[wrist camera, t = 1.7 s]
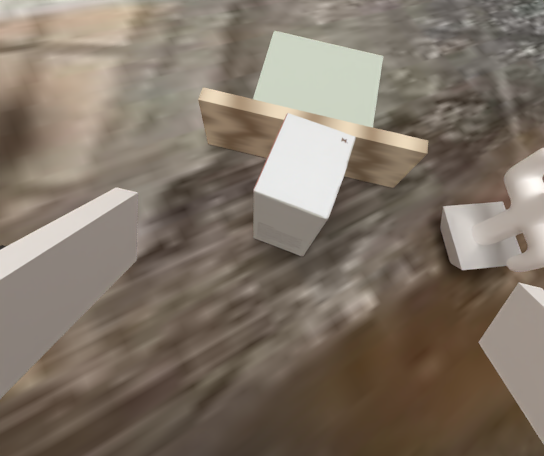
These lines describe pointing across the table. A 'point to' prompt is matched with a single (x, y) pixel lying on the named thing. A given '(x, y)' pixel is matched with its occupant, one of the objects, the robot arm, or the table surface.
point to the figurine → (500, 224)
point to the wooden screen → (269, 117)
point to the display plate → (320, 78)
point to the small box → (299, 183)
